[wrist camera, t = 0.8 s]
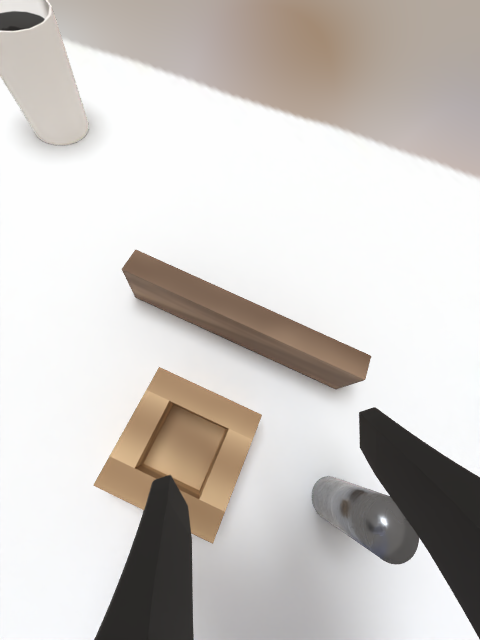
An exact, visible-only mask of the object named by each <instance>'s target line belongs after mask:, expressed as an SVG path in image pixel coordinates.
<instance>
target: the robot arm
mask: <svg viewBox="0 0 480 640" xmlns="http://www.w3.org/2000/svg"><path fill="white" fill-rule="evenodd" d="M359 424H360V448H361V450H362V452H363V454H364V456H365V458H366V459H367V461H368V463H369V465H370V466H371V468H372V470H373V472H374V473H375V475H376V476H377V478H378V479H379V481H380V482H381V484H382V485H383V487H384V488H385V489H386V491H387V492H388V494H389V495H390V497H391V498H392V499H393V501H394V502H395V504H396V505H397V507H398V508H399V509H400V511H401V512H402V514H403V515H404V516H405V518H406V519H407V521H408V522H409V524H410V525H411V526H412V528H413V529H414V531H415V532H416V533H417V535H418V536H419V538H420V539H421V541H422V542H423V544H424V545H425V547H426V548H427V550H428V551H429V553H430V555H431V556H432V558H433V560H434V561H435V563H436V565H437V566H438V568H439V570H440V571H441V573H442V575H443V576H444V578H445V580H446V581H447V583H448V585H449V586H450V588H451V590H452V592H453V593H454V595H455V597H456V598H457V600H458V602H459V604H460V605H461V607H462V609H463V611H464V612H465V614H466V616H467V618H468V619H469V621H470V623H471V624H472V626H473V628H474V630H475V632H476V633H477V635H478V637H479V639H480V477H478V476H477V475H475V474H473V473H472V472H470V471H468V470H467V469H465V468H463V467H462V466H460V465H458V464H457V463H455V462H454V461H452V460H450V459H449V458H447V457H446V456H444V455H443V454H441V453H440V452H438V451H437V450H435V449H434V448H432V447H431V446H429V445H428V444H426V443H425V442H423V441H422V440H420V439H419V438H417V437H416V436H414V435H413V434H411V433H410V432H409V431H407V430H406V429H404V428H403V427H402V426H400V425H399V424H397V423H396V422H395V421H393V420H392V419H391V418H389V417H388V416H386V415H385V414H384V413H382V412H381V411H380V410H378V409H377V408H375V407H374V408H371V409H368V410H365V411H362V412H359ZM94 640H194V639H193V600H192V537H191V527H190V518H189V510H188V505H187V503H186V501H185V499H184V498H183V496H182V494H181V492H180V490H179V489H178V487H177V485H176V483H175V481H174V480H173V478H172V476H171V475H168V476H165V477H162V478H159V479H156V480H154V481H153V482H152V484H151V488H150V492H149V495H148V498H147V502H146V505H145V508H144V512H143V515H142V518H141V521H140V524H139V527H138V530H137V533H136V536H135V539H134V542H133V545H132V548H131V550H130V553H129V556H128V559H127V562H126V564H125V567H124V570H123V572H122V575H121V577H120V580H119V582H118V585H117V587H116V590H115V593H114V595H113V598H112V600H111V603H110V605H109V607H108V610H107V612H106V614H105V617H104V619H103V621H102V624H101V626H100V628H99V631H98V633H97V635H96V637H95V639H94Z"/></svg>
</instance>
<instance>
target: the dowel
mask: <svg viewBox="0 0 480 640" xmlns="http://www.w3.org/2000/svg"><path fill="white" fill-rule="evenodd" d="M312 502H313V505H314V508H315V510H316V511H317V513H318V514H319V515H320V516H321V517H323V518H324V519H325V520H327V521H328V522H330V523H331V524H333V525H334V526H335V527H337V528H338V529H340V530H341V531H343V532H344V533H345V534H347V535H348V536H350V537H351V538H353V539H354V540H355V541H357V542H358V543H360V544H361V545H362V546H364V547H365V548H367V549H368V550H370V551H371V552H372V553H374V554H375V555H377V556H378V557H380V558H381V559H382V560H384V561H386V562H388V563H391V564H402V563H405V562H407V561H408V560H410V559H411V558H412V557H413V555H414V554H415V552H416V550H417V547H418V543H419V536H418V535H417V533H416V532H415V531H414V529H413V528H412V526H411V525H410V524H409V522H408V521H407V519H406V518H405V516H404V515H403V514H402V512H401V511H400V509H399V508H398V507H397V505H396V504H395V502H394V501H393V499H392V498H391V497H390V496H387V495H384V494H381V493H378V492H375V491H372V490H370V489H367V488H364V487H361V486H358V485H355V484H352V483H349V482H346V481H343V480H340V479H337V478H334V477H330V476H327V477H323V478H321V479H319V480H318V481H317V482H316V484H315V485H314V488H313V491H312Z"/></svg>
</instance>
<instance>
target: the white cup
mask: <svg viewBox="0 0 480 640" xmlns="http://www.w3.org/2000/svg"><path fill="white" fill-rule="evenodd" d="M0 76H1V78H2V80H3V81H4V83H5V85H6V86H7V88H8V89H9V91H10V93H11V94H12V96H13V98H14V99H15V101H16V103H17V104H18V106H19V107H20V109H21V111H22V112H23V114H24V116H25V117H26V119H27V121H28V122H29V124H30V125H31V127H32V129H33V130H34V132H35V134H36V135H37V137H38V138H39V139H41V140H42V141H44V142H45V143H49V144H53V145H69V144H72V143H76V142H78V141H79V140H81V139H82V138H84V137H85V135H86V134H87V132H88V130H89V123H88V120H87V117H86V114H85V111H84V107H83V104H82V101H81V98H80V95H79V92H78V88H77V85H76V82H75V79H74V76H73V72H72V69H71V66H70V63H69V60H68V57H67V53H66V50H65V47H64V44H63V41H62V37H61V34H60V31H59V28H58V25H57V22H56V19H55V16H54V12H53V9H52V6H51V4H50V3H49V2H48V0H0Z"/></svg>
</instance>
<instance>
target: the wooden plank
mask: <svg viewBox="0 0 480 640" xmlns="http://www.w3.org/2000/svg"><path fill="white" fill-rule="evenodd" d="M122 271H123V273H124V275H125V277H126V279H127V281H128V283H129V285H130V287H131V289H132V291H133V293H134V295H135V297H136V298H138V299H140V300H142V301H145V302H147V303H149V304H151V305H153V306H155V307H158V308H160V309H162V310H164V311H166V312H169V313H171V314H173V315H175V316H177V317H179V318H182V319H184V320H186V321H188V322H190V323H193V324H195V325H197V326H199V327H201V328H203V329H206V330H208V331H210V332H212V333H214V334H217V335H219V336H221V337H223V338H225V339H227V340H230V341H232V342H234V343H236V344H238V345H241V346H243V347H245V348H247V349H249V350H251V351H254V352H256V353H258V354H260V355H262V356H265V357H267V358H269V359H271V360H273V361H275V362H278V363H280V364H282V365H284V366H286V367H288V368H291V369H293V370H295V371H297V372H299V373H302V374H304V375H306V376H308V377H310V378H312V379H315V380H317V381H319V382H321V383H323V384H326V385H328V386H330V387H332V388H334V389H338V388H341V387H344V386H348V385H351V384H354V383H357V382H360V381H363V380H365V378H366V374H367V370H368V366H369V362H370V359H371V356H370V355H368V354H366V353H364V352H361V351H359V350H357V349H355V348H353V347H350V346H348V345H346V344H344V343H341V342H339V341H337V340H335V339H333V338H330V337H328V336H326V335H324V334H322V333H319V332H317V331H315V330H313V329H310V328H308V327H306V326H304V325H302V324H299V323H297V322H295V321H293V320H291V319H288V318H286V317H284V316H282V315H280V314H277V313H275V312H273V311H271V310H268V309H266V308H264V307H262V306H260V305H257V304H255V303H253V302H251V301H249V300H246V299H244V298H242V297H240V296H237V295H235V294H233V293H231V292H229V291H226V290H224V289H222V288H220V287H218V286H215V285H213V284H211V283H209V282H207V281H204V280H202V279H200V278H198V277H195V276H193V275H191V274H189V273H187V272H184V271H182V270H180V269H178V268H176V267H173V266H171V265H169V264H167V263H164V262H162V261H160V260H158V259H156V258H153V257H151V256H149V255H147V254H145V253H142V252H140V251H138V250H135V251H134V253H133V254H132V255H131V257H130V258H129V260H128V261H127V262H126V264H125V265H124V267H123V268H122Z"/></svg>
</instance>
